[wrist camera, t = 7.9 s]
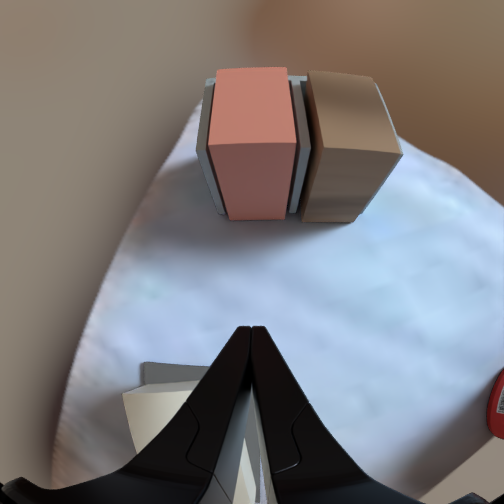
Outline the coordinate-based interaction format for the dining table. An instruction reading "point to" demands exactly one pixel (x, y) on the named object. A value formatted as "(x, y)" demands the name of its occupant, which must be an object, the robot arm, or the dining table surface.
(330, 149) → the walnut plug
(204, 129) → the socket block
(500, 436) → the canned food
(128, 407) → the cream rectangular block
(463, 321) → the dining table surface
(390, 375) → the dining table surface
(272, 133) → the salmon pink block
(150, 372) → the rubber mat
